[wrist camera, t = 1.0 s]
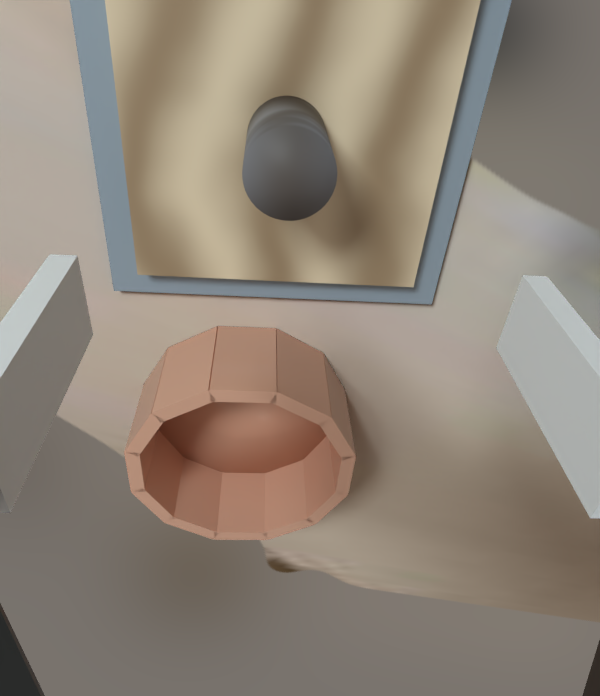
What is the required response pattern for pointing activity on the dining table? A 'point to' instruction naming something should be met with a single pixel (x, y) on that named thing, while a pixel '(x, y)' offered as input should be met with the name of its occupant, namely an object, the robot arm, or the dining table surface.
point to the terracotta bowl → (241, 436)
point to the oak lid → (285, 133)
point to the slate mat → (121, 252)
